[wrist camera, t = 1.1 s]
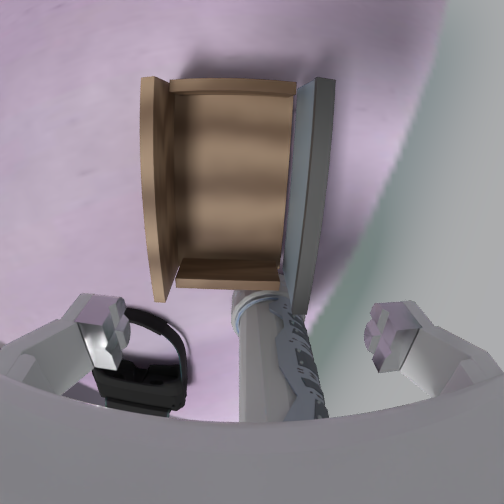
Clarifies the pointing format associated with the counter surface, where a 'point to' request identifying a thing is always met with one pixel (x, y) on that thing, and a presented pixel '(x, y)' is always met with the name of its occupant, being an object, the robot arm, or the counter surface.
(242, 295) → the canister
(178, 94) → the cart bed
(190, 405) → the counter surface
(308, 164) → the panel
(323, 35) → the counter surface
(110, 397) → the virtual reality headset
